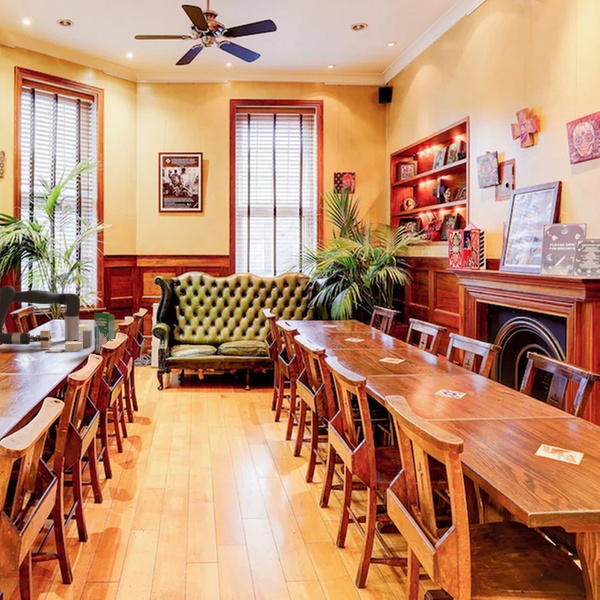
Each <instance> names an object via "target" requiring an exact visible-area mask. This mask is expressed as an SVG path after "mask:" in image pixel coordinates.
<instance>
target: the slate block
mask: <svg viewBox="0 0 600 600" xmlns="http://www.w3.org/2000/svg"><path fill="white" fill-rule="evenodd" d="M92 332H93V330H92V329H83V330H82V341H83V347H91V346H92V347H93V333H92ZM92 347H91V348H92Z"/></svg>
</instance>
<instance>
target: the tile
mask: <svg viewBox="0 0 600 600" xmlns="http://www.w3.org/2000/svg"><path fill="white" fill-rule="evenodd" d="M62 351H63V352H65V348H63V349H48V350H46V351H45V352H44V353H45V354H53V353H52V352H61V353H63V352H62ZM46 352H47V353H46Z"/></svg>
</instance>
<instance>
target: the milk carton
mask: <svg viewBox="0 0 600 600" xmlns="http://www.w3.org/2000/svg"><path fill="white" fill-rule="evenodd" d="M93 316H94V317H93V318H94V319H93V320H94V321H93V322H94V323H93V325H94V353H95V354H101V353H100V347H101V346H102V345H103V344H105V343H106V342H108V341H109V340H111V339H114V338H115V337H116V334H115V333H116V332H115V331H116V330H115V324H116V323H115V315H114V314H111V313H110V312H107V311H106V312H105V311H103V312H94V315H93Z"/></svg>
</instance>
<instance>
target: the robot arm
mask: <svg viewBox="0 0 600 600" xmlns="http://www.w3.org/2000/svg"><path fill="white" fill-rule="evenodd" d="M12 303H25V304H26V303H27V304H36V305H51V304H54V305H55V304H57V305H62V306H66V307H65V308H66V309H65V311H64V341H65V340H67V341H66V342H72V341H74V340H78V341H80V315H79V314H80V311H81V298H80V296H79V295H78V294H76V293H72V292H67V293H63V292H62V293H59V292H58V293H57V292H52V291H47V290H41V289H39V290H38V289H31V290H24V291H20V290H19V291H18V290H16V289H15V288H14V287H13V286H11V285H4V286H3V287H1V288H0V343H1V344H3V345H17V346H18V345H23V346H24V345H30V344H31V343H36V342H37V343H40V341H49V337H40V334H32V335H31V333H30V332H3V327H4V325H5V321H6V318H7V314H8V311H9V309H10V305H11V304H12ZM50 339H51V340H52V335H50Z"/></svg>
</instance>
